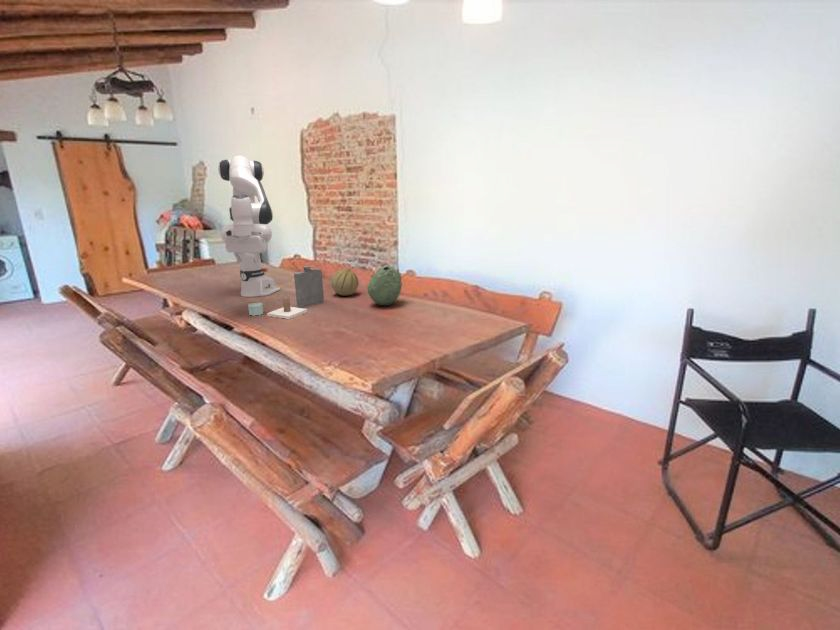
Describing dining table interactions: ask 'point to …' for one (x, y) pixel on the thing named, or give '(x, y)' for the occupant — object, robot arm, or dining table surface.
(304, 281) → the hip flask
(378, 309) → the dining table surface
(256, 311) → the cap
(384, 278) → the green bumpy rounded body
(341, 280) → the cantaloupe
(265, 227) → the robot arm
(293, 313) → the post stand
